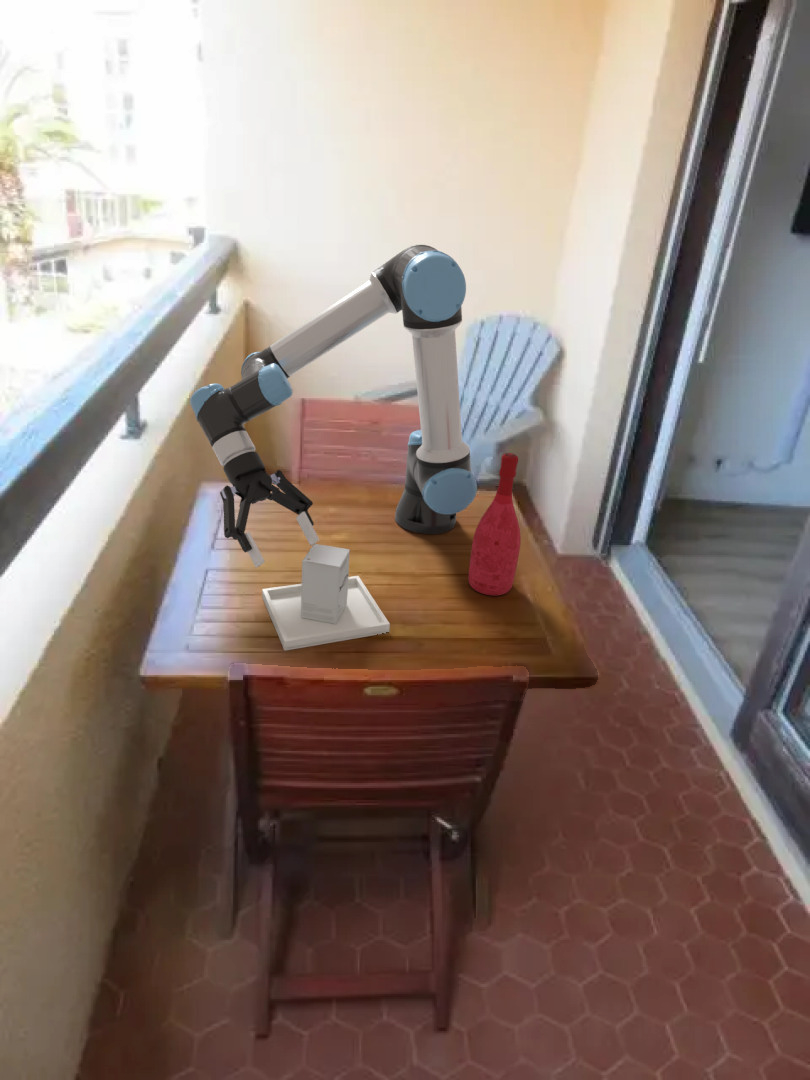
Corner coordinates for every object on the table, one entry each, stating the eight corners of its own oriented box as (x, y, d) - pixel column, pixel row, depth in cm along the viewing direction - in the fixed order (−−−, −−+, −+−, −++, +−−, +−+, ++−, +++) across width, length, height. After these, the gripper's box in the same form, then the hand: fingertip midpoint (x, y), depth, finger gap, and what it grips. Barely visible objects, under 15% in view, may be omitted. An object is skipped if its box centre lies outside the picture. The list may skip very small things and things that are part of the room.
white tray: (357, 583, 149) (358, 575, 148) (389, 632, 135) (389, 623, 134) (262, 597, 142) (262, 589, 141) (284, 650, 127) (284, 641, 127)
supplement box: (337, 625, 135) (339, 567, 129) (299, 618, 136) (300, 560, 130) (348, 604, 141) (351, 548, 135) (312, 598, 142) (313, 542, 136)
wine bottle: (516, 580, 156) (539, 451, 142) (507, 602, 148) (530, 467, 134) (473, 570, 158) (491, 441, 144) (461, 591, 150) (479, 457, 136)
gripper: (280, 453, 153) (326, 540, 152) (177, 482, 136) (227, 581, 135) (296, 437, 148) (344, 527, 146) (190, 465, 131) (243, 568, 129)
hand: (288, 553), depth 140 cm, fingers open, 13 cm apart
